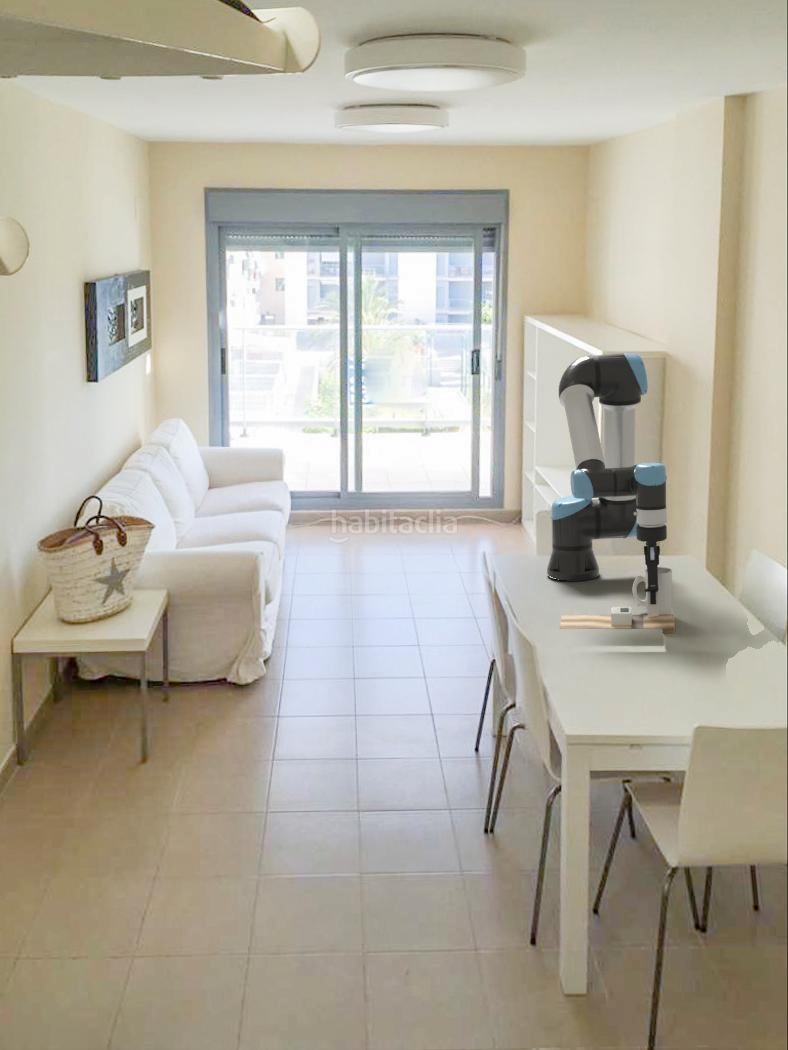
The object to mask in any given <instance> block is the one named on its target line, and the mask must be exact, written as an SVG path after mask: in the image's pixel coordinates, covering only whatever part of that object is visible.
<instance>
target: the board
mask: <svg viewBox="0 0 788 1050" xmlns="http://www.w3.org/2000/svg"><path fill="white" fill-rule="evenodd" d="M675 627H676V626H675V620H674V614H672V615H659V616H648V614H632V625H611V614H574V615H573V614H562V615H561V619H560V624H559V630H562V629H564V630H565V629H566V630H567V629H568V630H569V629H570V630H571V629H572V630H573V629H574V630H575V629H577V630H580V629H583V630H584V629H585V630H586V629H587V630H588V629H589V630H591V629H595V630H597V629H599V630H600V629H605V630H606V629H615V630H617V629H622V630H623V629H639V630H640V629H647V630H648V629H661V630H662V634H675V633H676V632H675V631H676V628H675Z"/></svg>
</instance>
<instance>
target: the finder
mask: <svg viewBox="0 0 788 1050" xmlns="http://www.w3.org/2000/svg"><path fill="white" fill-rule="evenodd" d="M632 613H633V612H632V606H611V610H610V615H611V625H632V615H633V614H632Z"/></svg>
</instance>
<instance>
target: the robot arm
mask: <svg viewBox="0 0 788 1050" xmlns="http://www.w3.org/2000/svg"><path fill="white" fill-rule="evenodd" d="M648 387H649V386H648V377H647V371H646V367H645V364H644V360H643V358H642V357H641V356H640V354H637V353H625V352H623V353H612V354H611V353H610V354H600V355H599V354H597V355H596V354H595V355H592V354H591V355H585V356H584V355H583V356H582V357H579V358H576V359H575V360H574V361H572V362H571V363H570V364H569V366H567V368H566V370H565V371H564V372H563V374H562V375H561V378H560V381H559V384H558V398H559V403H560V405H561V406H562V407H563V408H564V409H565V410H564V411H565V415H566V421H567V426H568V432H569V437H570V442H571V448H572V452H573V457H574V464H575V468H576V469H575V470H572V471H571V473H570V490H571V491H570V492H571V495H567V496H563V497H560V498H558V499H556V500H554V501H553V502H552V505H551V512H550V514H551V515H550V520H551V545H552V546H551V548H552V549H551V550H552V551H551V554H550V558H549V560H548V564H547V568H546V575H547V574H548V575H549V576H551V577H553V578H556V579H559V580H567V581H566V582H582V581H583V580H584V581H590V580H593V579H596V578H597V577H599V576H600V566H599V564H598V561H597V558H596V555H595V553H594V550H593V540H605V539H606V540H607V539H627V538H634V537H636V540H637V541H639V542H645V545H643V554H644V560H645V561H644V563H645V566H646V569H648V588H647V589H646V588H645V589H644V592H645V593H646V592H647V600H648V613H647V615H648V616H659V602H658V589H659V587H658V566H659V565H660V554H661V547H660V545H658V544H657V542H663V541H665V540H666V539H667V538H668V535H667V534H668V533H667V525H666V523H667V522H668V519H667V518H668V514H667V513H668V512H667V511H668V510H667V479H668V478H667V475H666V466H665V465H664V464H663V463H659V462H642V463H638V464H635V461H636V460H635V457H636V456H635V455H636V454H635V453H636V452H635V451H636V450H635V449H636V447H635V446H636V408H637V407H638V405H639V404H641V401H642V396H644V395H646V394H647V393H648ZM595 398H598V403H599V404H600V405H601V406H602V407H603V408H604V411H603V412H604V415H603V417H604V419H603V420H604V422H603V423H604V426H603V427H604V429H603V431H604V432H603V433H604V436H603V437H604V439H603V440H604V443H603V446H604V447H603V448H604V450H603V448H602V443H601V439H600V434H599V428H598V424H597V419H596V415H595V410H594V405H593V402H594V399H595ZM603 452H604V453H603ZM559 580H558V581H559Z"/></svg>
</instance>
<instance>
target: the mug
mask: <svg viewBox="0 0 788 1050" xmlns="http://www.w3.org/2000/svg"><path fill="white" fill-rule="evenodd" d="M644 574H645V575H643V576H642V575H640V574H639V575H636V576H635V579H634V581H633V584H632V590H631V591H632V595H633V598H634V599H635V602H636V604H637V606H644V607H646V613H647V614H648V600H647V592H645V599H641V598H640V597H639V596H638V592H637V590H638V589H637V588H638V585H639V584H640V583H641V582H644V583H645V589H647V588H648V569H647V568H646V569H644ZM658 587H659V589H658V602H659V615H673V613H672V612H673V569H672V568H669V567H663V566H659V567H658Z"/></svg>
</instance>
